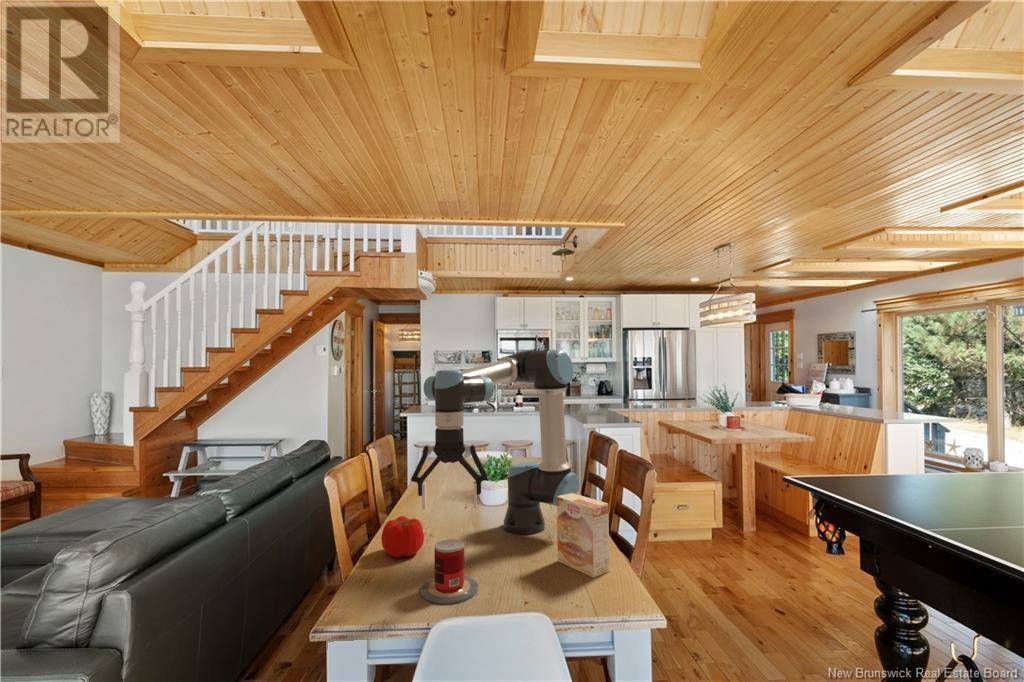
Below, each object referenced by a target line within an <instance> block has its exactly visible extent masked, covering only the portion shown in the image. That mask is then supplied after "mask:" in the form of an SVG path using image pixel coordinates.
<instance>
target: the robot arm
mask: <svg viewBox="0 0 1024 682" xmlns="http://www.w3.org/2000/svg"><path fill="white" fill-rule="evenodd" d="M573 376H574V365H573V362H572V359H571V356H570V355H568V353H567V352H566V351H564V350H561V349H542V350H538V349H537V350H524V351H520V352H517V353H513V354H510V355H506V356H502V357H500V358H499V359H497V361H495V362H494V361H493V362H490V363H487V364H483V365H479V366H478V365H477V366H475V367H471V368H467V369H463V370H460V369H441V370H437V371H436V373H435V375H430V376H428V377H427V378H426V379H425V381H424V383H423V393H424V395H425V398H427V399H429V400H430V401H431V400H432V401H435V402H434V406H435V411H434V414H435V415H434V416H435V419H434V420H435V421H434V423H435V424H434V425H435V427H436V428H435V430H434V431H435V432H434V434H435V435H434V438H435V441H434V446H429V445H428V444H426V445H424V446H423V450H422V456H421V457H420V460H419V461H418V463H417V465H416V468H415V469H414V472H413V474H412V476H411V478H410V481H411V482H413V483H414V482H415V483H417V495H418V496H419V497H421V510H426V508H427V481H425V480H426V479H427V478H428V476H429V475H430V474H431V473H432V472H433V470H434V469H435V468H436V467H437V466H438V465H439V463H440V462H441V463H443V464H448V463H452V464H454V463H457V462H458V463H459V464H460V465H461V466H462V467H463V468H464V469H465V470H466V471H467V472H468V474H469V475H470V476H471V477H472V478H473V479H474V480H473V509H477V507H478V495H481V494H482V482H484V481H486V480H488V474H487V471H486V468H485V467H484V466H483V463H482V462H481V459H480V458H479V455H478V453H477V450H476V444H474V443H472V444H471V445H465V443H464V439H465V438H464V428H463V426H464V404H471V403H483V402H487V401H489V400H490V399H492V397H493V396H494V392H495V386H496V385H499V384H512V383H529V384H530V383H531V384H532V383H533V389H534V390H535V392H536V393H538V407H539V426H540V427H539V428H540V446H541V447H540V448H541V449H540V450H541V462H537V461H536V462H535V461H527V462H519V463H515V464H512V465H510V466H509V467H508V470H507V499H508V500H507V501H508V502H507V504H508V505H507V509H506V513H505V515H504V519H503V529H504V530H505V531H506V532H508V533H512V534H517V535H530V534H531V535H532V534H538V533H540V532H542V531H544V530H545V528H546V521H545V518H544V514H543V511H542V509H541V506H540V505H541V503H542V504H547V505H552V506H554V507H557V496H560V495H565V494H570V493H574V494H578V491H579V486H580V482H579V477H578V475H577V474H576V473H574V472H573V471H572V465H571V463H569V462H568V460H567V446H566V445H567V444H566V443H567V442H566V422H565V405H564V403H565V402H564V392H565V391H566V390H567V389H568V384H569V383H570V382H572V381H573ZM466 451H467V453H468V454H470V455H471V458H472V460H473V462H474V464H475V466H476V468H477V470H478V471H479V473H480V475H479V473H478V472H477V471H476V470H475V469H474V467H473V466H472V465H471V464H470V463H469V462H468V461H467V459H466V458H465V457H464V455H463V454H464V453H465V452H466ZM432 452H434V454H435V455H436V458H435V459H434V460H433V461H432V462H431V464H430V465H429V466H428V467H427V468H426V470H425V471H424V472H423V473H422V475H420V477H419V474H420V472H421V470H422V469H423V466H424V465H425V462H426V460H427V459H428V455H429V456H430V455H431V454H432Z"/></svg>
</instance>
